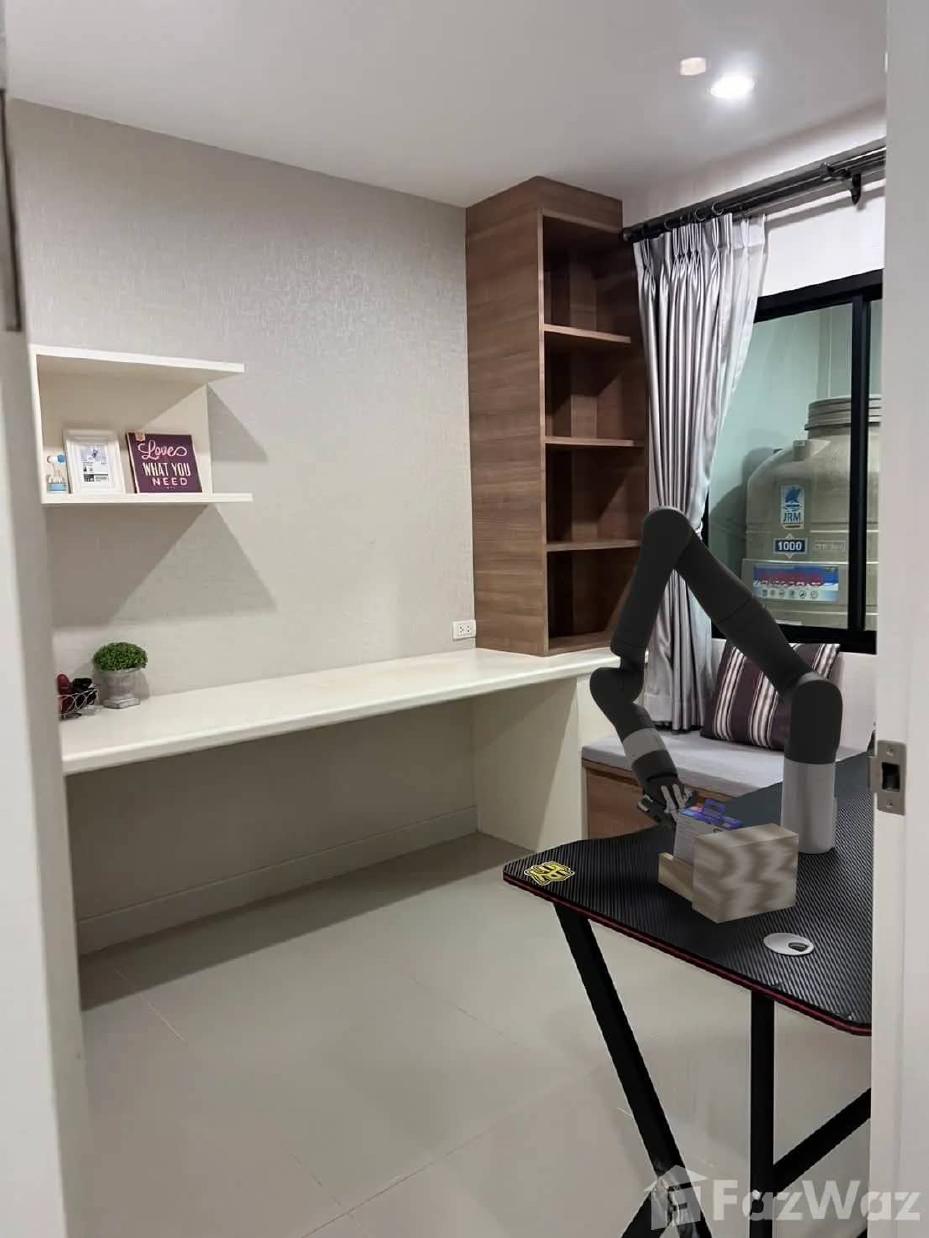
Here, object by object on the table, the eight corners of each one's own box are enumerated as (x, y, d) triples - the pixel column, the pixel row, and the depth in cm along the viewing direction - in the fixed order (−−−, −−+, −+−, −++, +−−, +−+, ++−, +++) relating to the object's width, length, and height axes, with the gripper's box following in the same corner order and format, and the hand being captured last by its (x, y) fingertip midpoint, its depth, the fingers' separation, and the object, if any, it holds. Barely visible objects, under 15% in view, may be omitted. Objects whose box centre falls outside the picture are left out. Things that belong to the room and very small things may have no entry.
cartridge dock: (724, 868, 166) (727, 803, 164) (795, 905, 150) (798, 834, 149) (651, 883, 159) (653, 815, 157) (717, 923, 144) (720, 848, 142)
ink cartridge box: (737, 889, 156) (747, 808, 153) (721, 899, 152) (730, 817, 149) (686, 868, 163) (694, 791, 160) (669, 878, 159) (677, 799, 156)
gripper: (627, 751, 166) (667, 840, 157) (687, 744, 172) (729, 829, 162) (610, 772, 171) (647, 859, 162) (668, 764, 177) (708, 848, 167)
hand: (688, 844), depth 162 cm, fingers closed
